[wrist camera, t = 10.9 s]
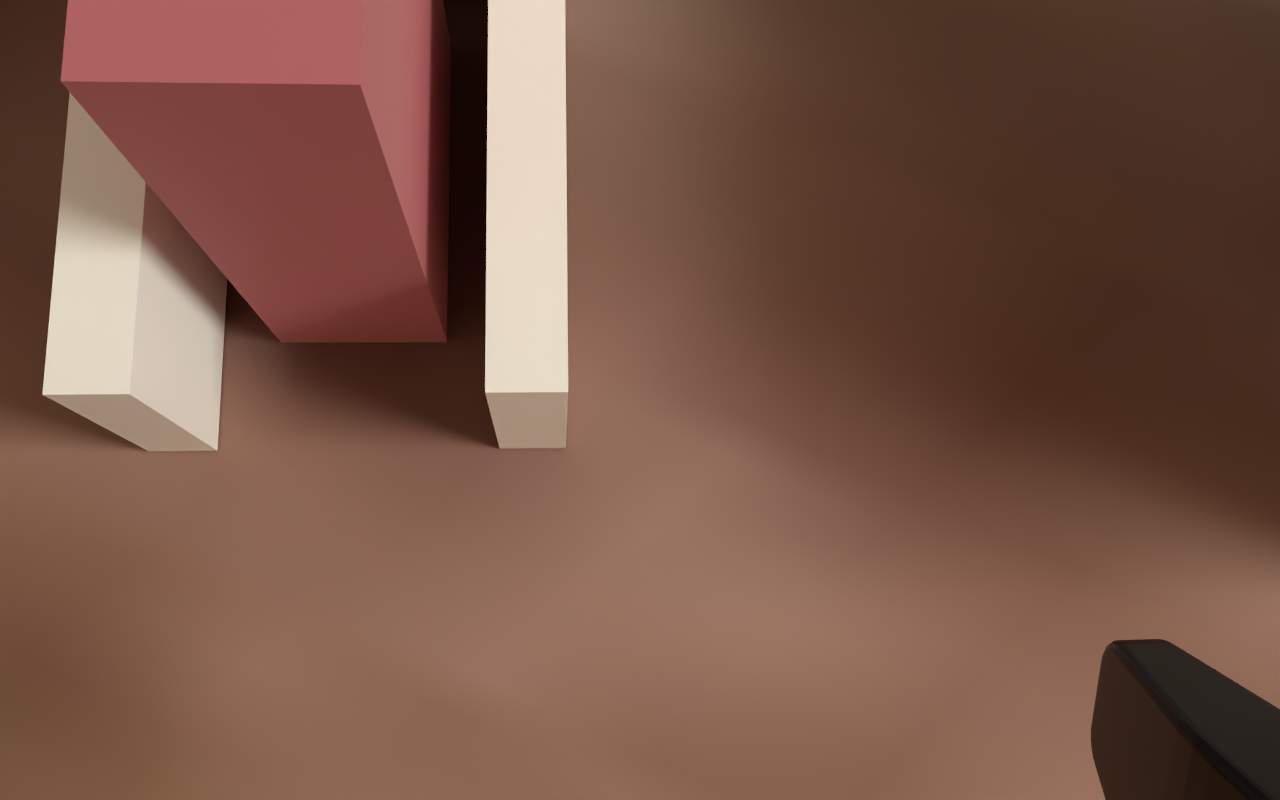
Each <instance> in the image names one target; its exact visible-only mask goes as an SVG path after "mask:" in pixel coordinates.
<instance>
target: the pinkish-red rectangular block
mask: <svg viewBox="0 0 1280 800" xmlns="http://www.w3.org/2000/svg"><path fill="white" fill-rule="evenodd" d="M450 76H451V44H450V38H449V32H448V26H447V20H446V14H445V8H444V3H443V0H68V5H67V16H66V27H65V38H64V49H63V60H62V71H61V82H62V84H63V85H64V86H65V87H66V88H67V89H68V91H69V92H70V93H71V94H72V95H73V97H74V98H75V99H76V100H77V101H78V102H79V104H80V105H81V106H82V107H83V108H84V110H85V111H86V112H87V113H88V114H89V116H90V117H91V118H92V119H93V120H94V121H95V123H96V124H97V125H98V126H99V127H100V129H101V130H102V131H103V132H104V133H105V134H106V136H107V137H108V138H109V139H110V140H111V142H112V143H113V144H114V145H115V146H116V147H117V149H118V150H119V151H120V152H121V153H122V155H123V156H124V157H125V158H126V159H127V161H128V162H129V163H130V164H131V165H132V166H133V168H134V169H135V170H136V171H137V172H138V174H139V175H140V176H141V177H142V178H143V179H144V181H145V182H146V183H147V184H148V185H149V187H150V188H151V189H152V190H153V191H154V192H155V194H156V195H157V196H158V197H159V198H160V200H161V201H162V202H163V203H164V204H165V206H166V207H167V208H168V209H169V210H170V211H171V213H172V214H173V215H174V216H175V217H176V219H177V220H178V221H179V222H180V223H181V224H182V226H183V227H184V228H185V229H186V230H187V232H188V233H189V234H190V235H191V236H192V237H193V239H194V240H195V241H196V242H197V243H198V245H199V246H200V247H201V248H202V249H203V251H204V252H205V253H206V254H207V255H208V256H209V258H210V259H211V260H212V261H213V262H214V264H215V265H216V266H217V267H218V268H219V269H220V271H221V272H222V273H223V274H224V275H225V277H226V278H227V279H228V280H229V281H230V282H231V284H232V285H233V286H234V287H235V288H236V290H237V291H238V292H239V293H240V294H241V296H242V297H243V298H244V299H245V300H246V301H247V303H248V304H249V305H250V306H251V307H252V309H253V310H254V311H255V312H256V313H257V314H258V316H259V317H260V318H261V319H262V320H263V322H264V323H265V324H266V325H267V326H268V327H269V329H270V330H271V331H272V332H273V333H274V335H275V336H276V337H277V338H278V339H279V341H280V342H281V343H361V342H447V299H448V225H449V151H450Z"/></svg>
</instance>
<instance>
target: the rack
mask: <svg viewBox="0 0 1280 800" xmlns="http://www.w3.org/2000/svg"><path fill="white" fill-rule="evenodd" d="M226 293H227V278H226V277H225V275H224V274H223V273H222V272H221V271H220V269H219V268H218V267H217V266H216V265H215V264H214V262H213V261H212V260H211V259H210V258H209V256H208V255H207V254H206V253H205V252H204V251H203V249H202V248H201V247H200V246H199V245H198V243H197V242H196V241H195V240H194V239H193V237H192V236H191V235H190V234H189V233H188V232H187V230H186V229H185V228H184V227H183V226H182V224H181V223H180V222H179V221H178V220H177V219H176V217H175V216H174V215H173V214H172V213H171V211H170V210H169V209H168V208H167V207H166V206H165V204H164V203H163V202H162V201H161V200H160V198H159V197H158V196H157V195H156V194H155V192H154V191H153V190H152V189H151V188H150V187H149V185H148V184H147V183H146V182H145V181H144V179H143V178H142V177H141V176H140V175H139V174H138V172H137V171H136V170H135V169H134V168H133V166H132V165H131V164H130V163H129V162H128V161H127V159H126V158H125V157H124V156H123V155H122V153H121V152H120V151H119V150H118V149H117V147H116V146H115V145H114V144H113V143H112V142H111V140H110V139H109V138H108V137H107V136H106V134H105V133H104V132H103V131H102V130H101V129H100V127H99V126H98V125H97V124H96V123H95V121H94V120H93V119H92V118H91V117H90V116H89V114H88V113H87V112H86V111H85V110H84V108H83V107H82V106H81V105H80V104H79V102H78V101H77V100H76V99H75V98H74V97H73V95H72V94H71V93H70V96H69V107H68V118H67V129H66V140H65V151H64V162H63V173H62V184H61V195H60V206H59V217H58V228H57V239H56V250H55V261H54V272H53V283H52V294H51V305H50V316H49V327H48V338H47V349H46V360H45V371H44V382H43V393H42V395H44V396H46V397H48V398H50V399H51V400H53V401H55V402H57V403H59V404H61V405H63V406H65V407H66V408H68V409H70V410H72V411H74V412H76V413H78V414H80V415H81V416H83V417H85V418H87V419H89V420H91V421H93V422H95V423H96V424H98V425H100V426H102V427H104V428H106V429H108V430H110V431H111V432H113V433H115V434H117V435H119V436H121V437H123V438H125V439H126V440H128V441H130V442H132V443H134V444H136V445H138V446H140V447H141V448H143V449H145V450H147V451H217V450H218V433H219V415H220V398H221V380H222V363H223V345H224V328H225V311H226ZM485 394H486V398H487V402H488V406H489V410H490V414H491V417H492V421H493V425H494V429H495V433H496V437H497V441H498V444H499V448H566V433H567V408H568V304H567V172H566V40H565V0H488V86H487V212H486V338H485Z"/></svg>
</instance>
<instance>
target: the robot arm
mask: <svg viewBox="0 0 1280 800" xmlns="http://www.w3.org/2000/svg"><path fill="white" fill-rule="evenodd" d="M1091 746H1092V753H1093V759H1094V762H1095V766H1096V769H1097V773H1098V776H1099V779H1100V783H1101V786H1102V789H1103V793H1104V796H1105V799H1106V800H1280V709H1278V708H1277V707H1275V706H1273V705H1272V704H1270V703H1269V702H1267V701H1265V700H1264V699H1262V698H1260V697H1259V696H1257V695H1256V694H1254V693H1252V692H1251V691H1249V690H1247V689H1246V688H1244V687H1242V686H1241V685H1239V684H1238V683H1236V682H1234V681H1233V680H1231V679H1229V678H1228V677H1226V676H1224V675H1223V674H1221V673H1220V672H1218V671H1216V670H1215V669H1213V668H1211V667H1210V666H1208V665H1206V664H1205V663H1203V662H1202V661H1200V660H1198V659H1197V658H1195V657H1193V656H1192V655H1190V654H1189V653H1187V652H1185V651H1184V650H1182V649H1180V648H1179V647H1177V646H1175V645H1174V644H1172V643H1170V642H1168V641H1165V640H1161V639H1145V640H1116V641H1113V642H1112V643H1111V644H1109V645H1108V646H1107V647H1106V649H1105V651H1104V653H1103V656H1102V660H1101V666H1100V673H1099V679H1098V686H1097V693H1096V699H1095V706H1094V712H1093V719H1092V725H1091Z"/></svg>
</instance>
